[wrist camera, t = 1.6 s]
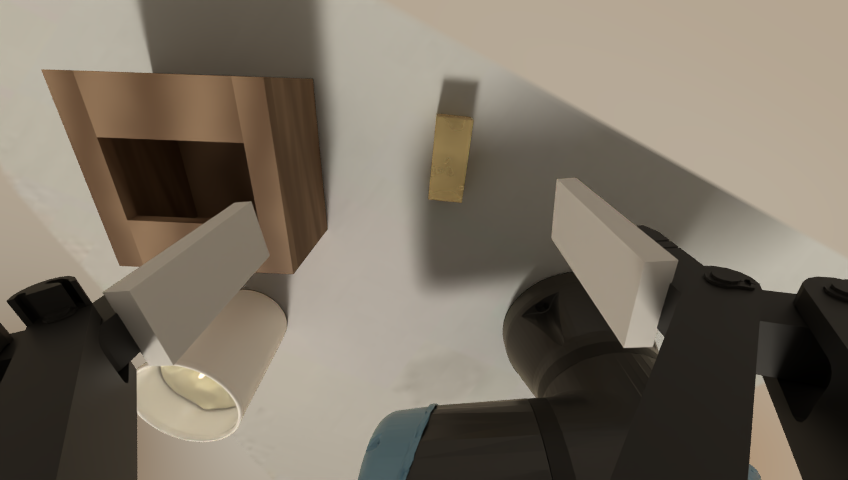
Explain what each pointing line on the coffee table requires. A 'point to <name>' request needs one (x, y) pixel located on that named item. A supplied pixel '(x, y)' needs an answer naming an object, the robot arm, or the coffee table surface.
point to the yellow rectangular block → (450, 157)
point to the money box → (195, 157)
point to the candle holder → (214, 372)
